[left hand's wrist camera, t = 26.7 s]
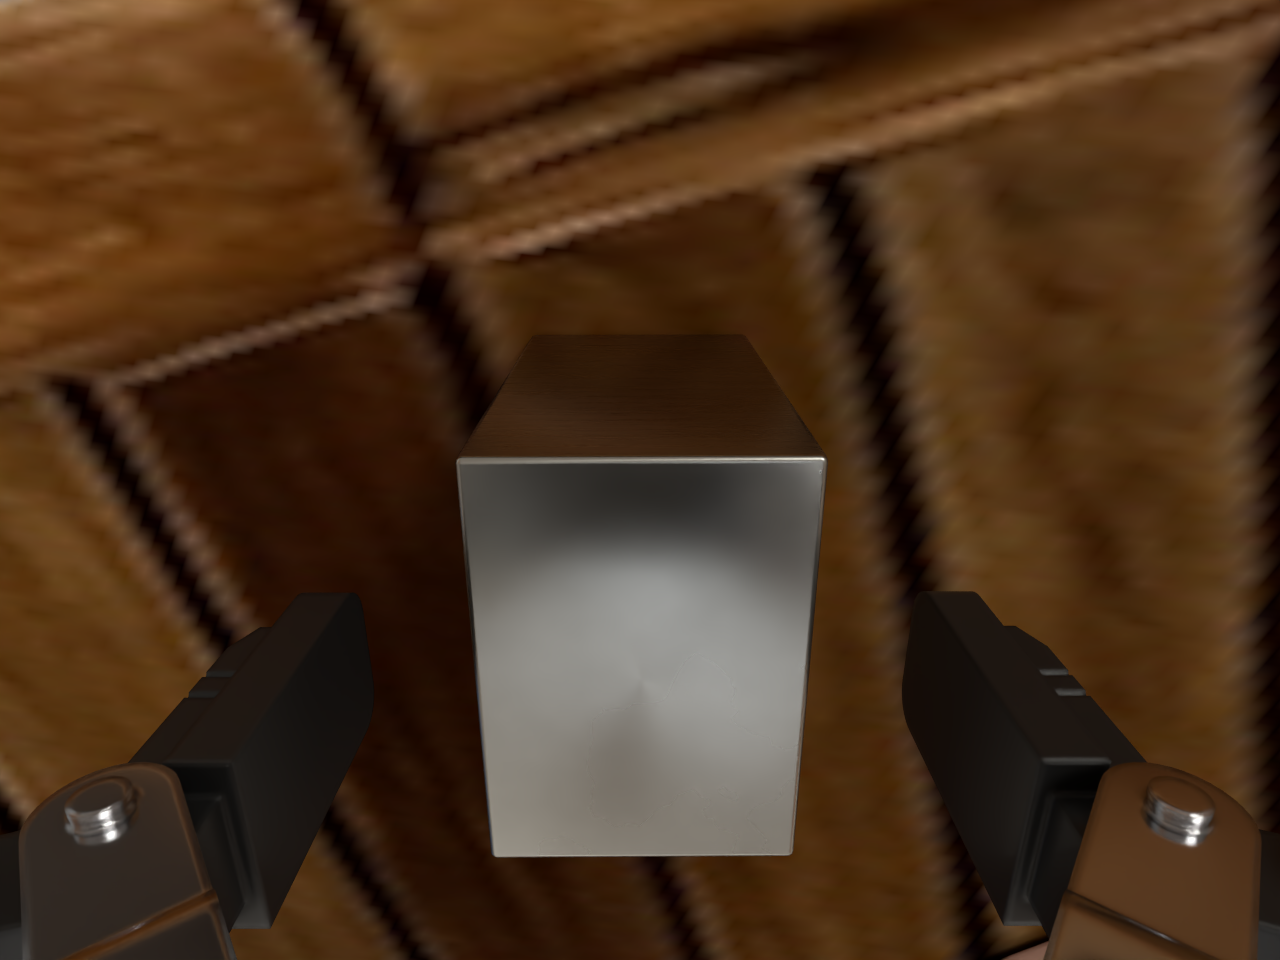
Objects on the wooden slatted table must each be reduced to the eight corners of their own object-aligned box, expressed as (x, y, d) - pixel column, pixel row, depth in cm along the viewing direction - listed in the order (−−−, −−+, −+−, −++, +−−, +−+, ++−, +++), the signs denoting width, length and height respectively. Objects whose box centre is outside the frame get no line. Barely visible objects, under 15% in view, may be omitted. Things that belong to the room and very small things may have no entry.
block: (545, 599, 19) (489, 860, 12) (531, 334, 17) (452, 457, 10) (733, 598, 19) (794, 858, 12) (746, 334, 17) (830, 456, 10)
